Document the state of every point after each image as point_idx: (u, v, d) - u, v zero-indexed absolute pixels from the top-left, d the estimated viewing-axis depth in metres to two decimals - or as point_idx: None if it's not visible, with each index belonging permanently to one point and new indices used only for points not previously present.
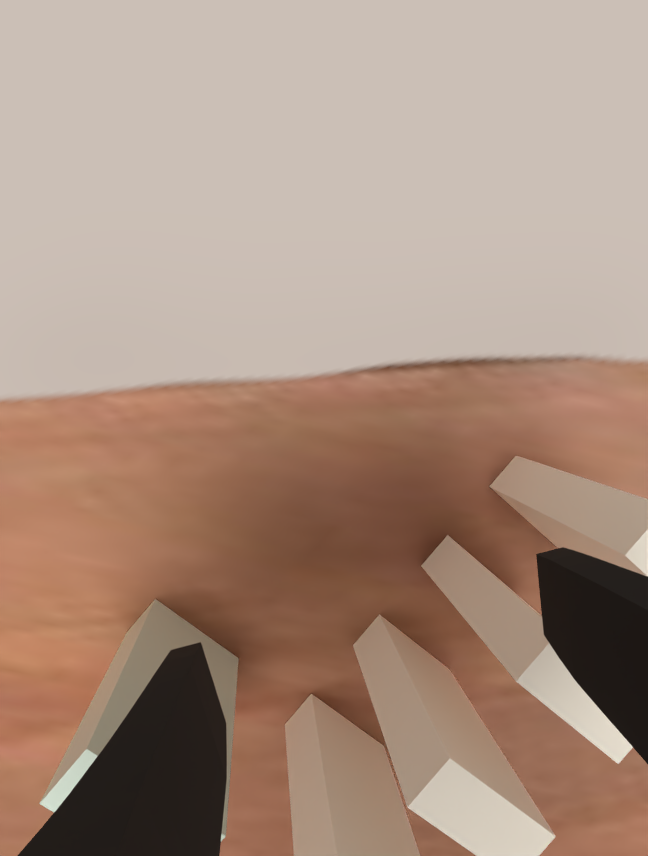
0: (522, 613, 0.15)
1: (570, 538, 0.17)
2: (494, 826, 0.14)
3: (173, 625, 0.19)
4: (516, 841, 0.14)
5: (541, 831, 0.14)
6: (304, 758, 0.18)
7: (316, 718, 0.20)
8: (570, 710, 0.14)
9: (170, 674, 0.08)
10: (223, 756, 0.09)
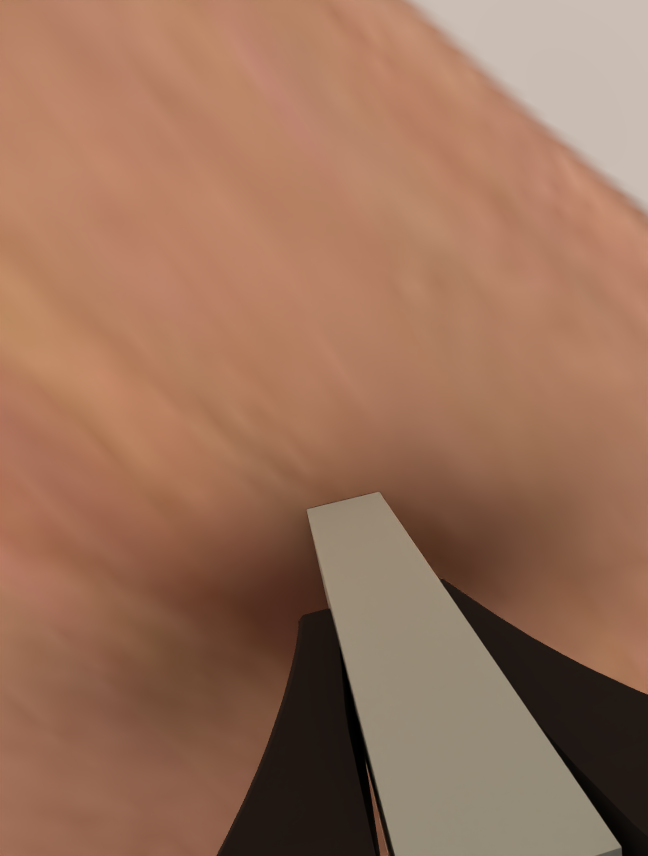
0: None
1: None
2: None
3: None
4: None
5: None
6: None
7: None
8: None
9: (319, 634, 0.09)
10: None
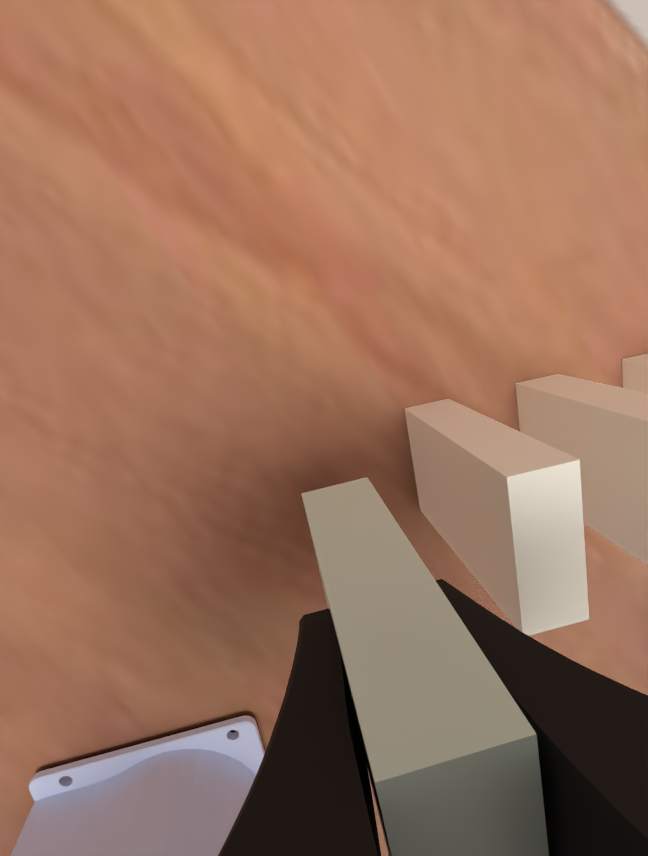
0: None
1: None
2: None
3: None
4: None
5: None
6: (456, 418, 0.16)
7: (464, 407, 0.17)
8: None
9: (320, 634, 0.09)
10: None
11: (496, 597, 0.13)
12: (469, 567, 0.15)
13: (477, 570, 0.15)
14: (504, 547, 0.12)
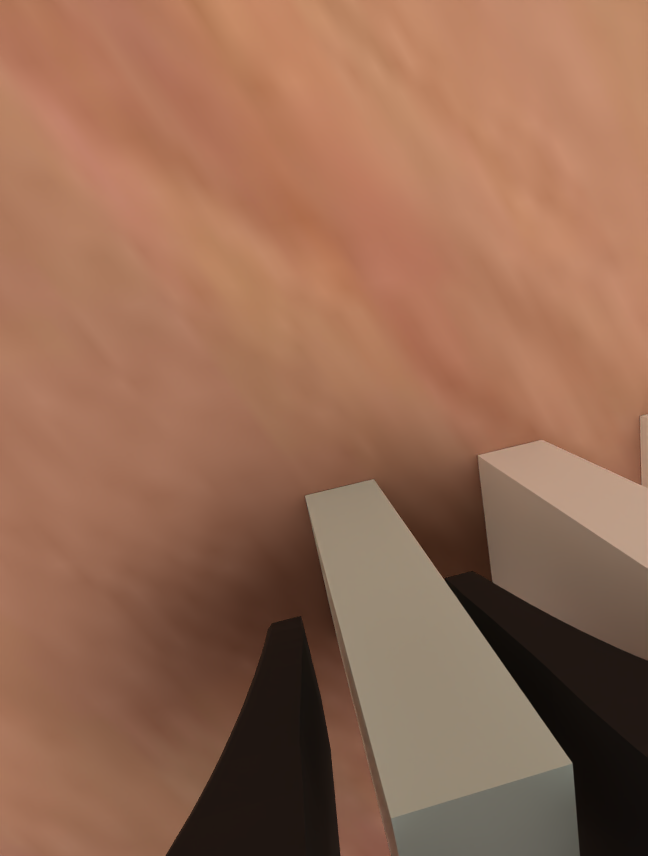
0: None
1: None
2: None
3: None
4: None
5: None
6: (581, 484, 0.10)
7: (579, 459, 0.11)
8: None
9: (284, 644, 0.08)
10: (325, 727, 0.09)
11: None
12: None
13: None
14: None
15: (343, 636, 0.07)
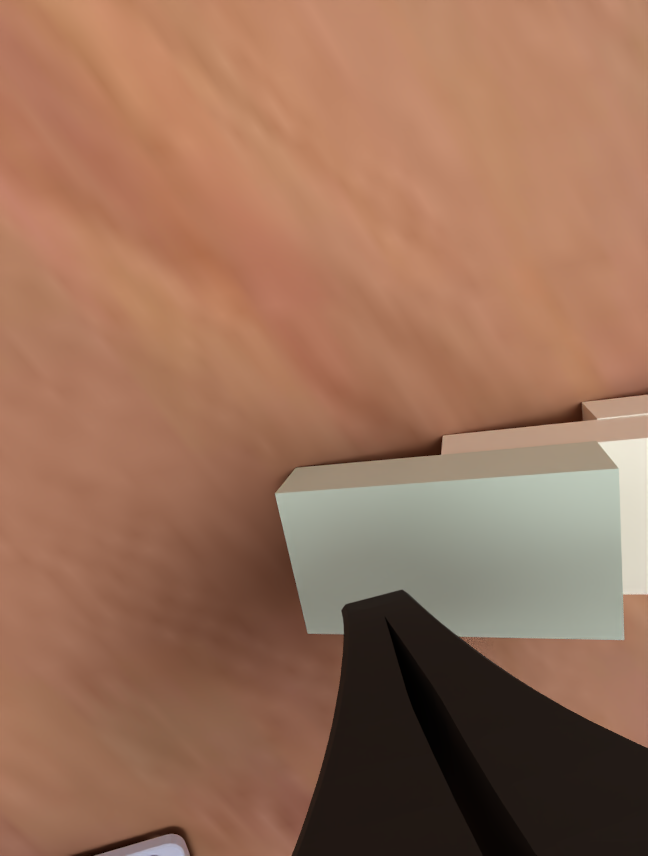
0: None
1: None
2: None
3: None
4: None
5: None
6: (547, 434, 0.13)
7: None
8: None
9: (367, 622, 0.09)
10: None
11: None
12: None
13: None
14: None
15: (492, 477, 0.11)
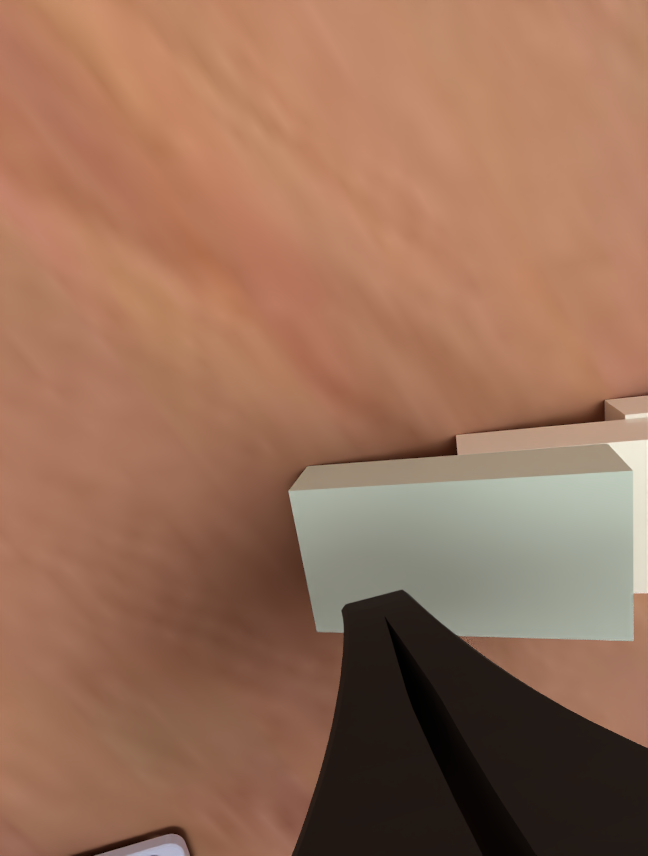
0: None
1: None
2: None
3: None
4: None
5: None
6: (561, 434, 0.13)
7: None
8: None
9: (367, 622, 0.09)
10: None
11: None
12: None
13: None
14: None
15: (507, 478, 0.11)
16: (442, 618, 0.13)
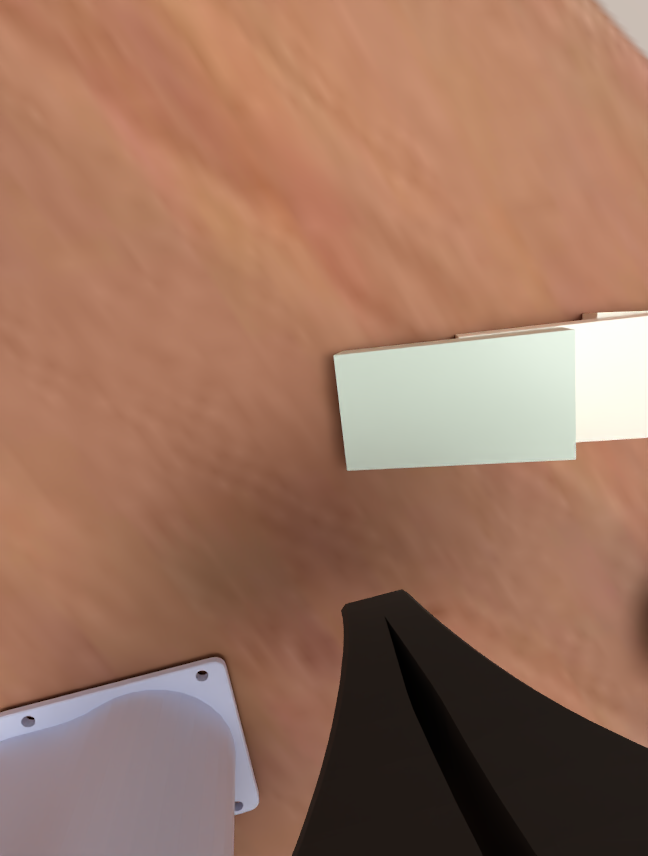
0: None
1: None
2: None
3: None
4: None
5: None
6: (532, 326, 0.18)
7: (493, 331, 0.20)
8: None
9: (367, 622, 0.09)
10: None
11: None
12: (600, 436, 0.18)
13: (618, 428, 0.18)
14: None
15: (491, 338, 0.16)
16: (442, 451, 0.17)
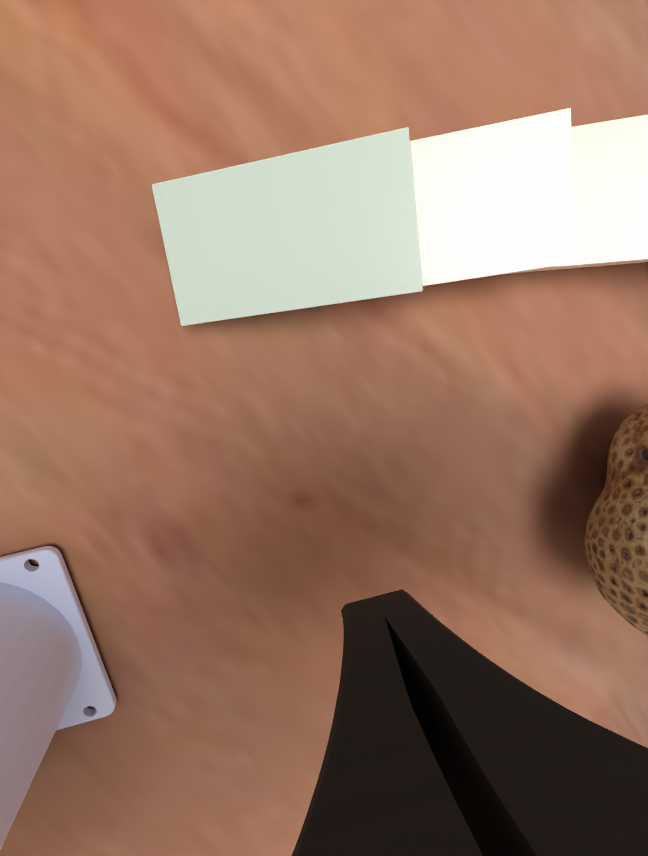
0: None
1: None
2: None
3: None
4: None
5: None
6: None
7: None
8: None
9: (367, 622, 0.09)
10: None
11: (528, 261, 0.16)
12: (470, 273, 0.16)
13: (489, 261, 0.16)
14: (553, 188, 0.15)
15: (318, 147, 0.14)
16: (279, 294, 0.15)
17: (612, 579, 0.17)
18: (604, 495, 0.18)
